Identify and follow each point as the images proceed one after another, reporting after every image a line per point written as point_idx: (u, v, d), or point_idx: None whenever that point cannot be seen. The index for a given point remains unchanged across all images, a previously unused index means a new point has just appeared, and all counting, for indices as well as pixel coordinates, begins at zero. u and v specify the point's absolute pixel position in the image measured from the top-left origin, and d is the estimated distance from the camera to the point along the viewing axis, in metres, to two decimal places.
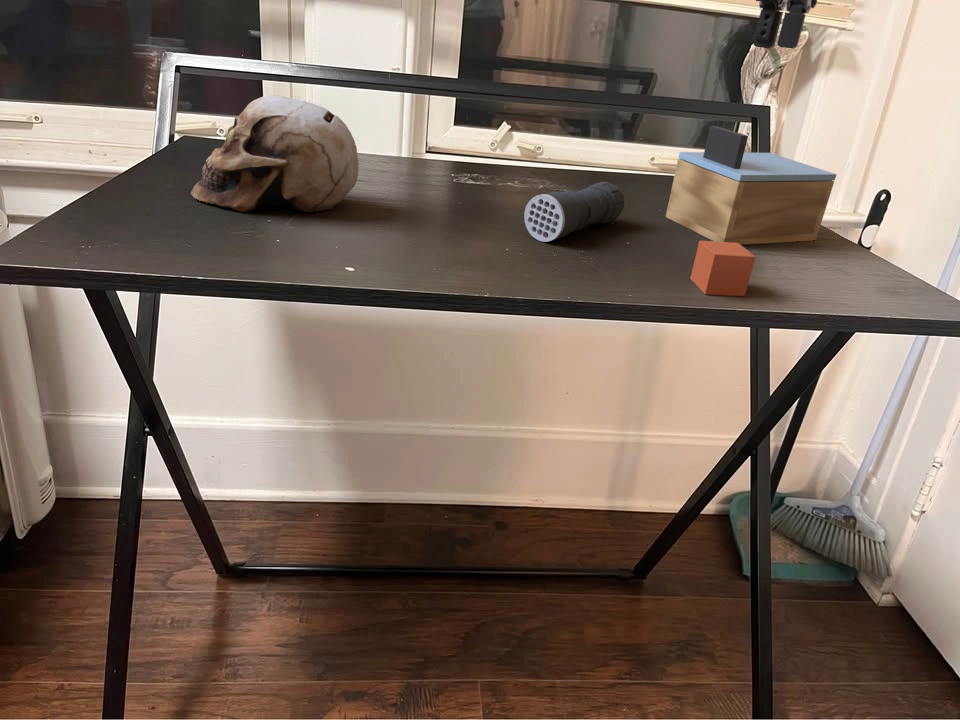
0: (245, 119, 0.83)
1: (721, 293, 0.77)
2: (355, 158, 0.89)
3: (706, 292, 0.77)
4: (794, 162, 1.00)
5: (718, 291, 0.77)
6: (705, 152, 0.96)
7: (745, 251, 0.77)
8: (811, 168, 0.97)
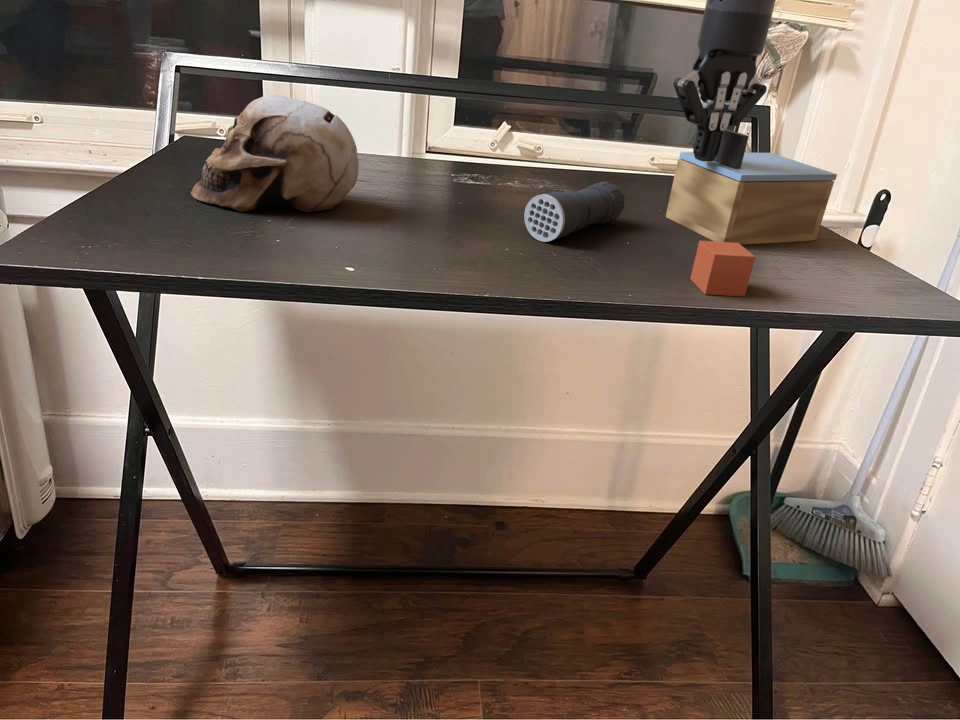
0: (245, 119, 0.83)
1: (721, 293, 0.77)
2: (355, 158, 0.89)
3: (706, 292, 0.77)
4: (795, 162, 1.00)
5: (718, 291, 0.77)
6: None
7: (745, 251, 0.77)
8: (812, 168, 0.98)
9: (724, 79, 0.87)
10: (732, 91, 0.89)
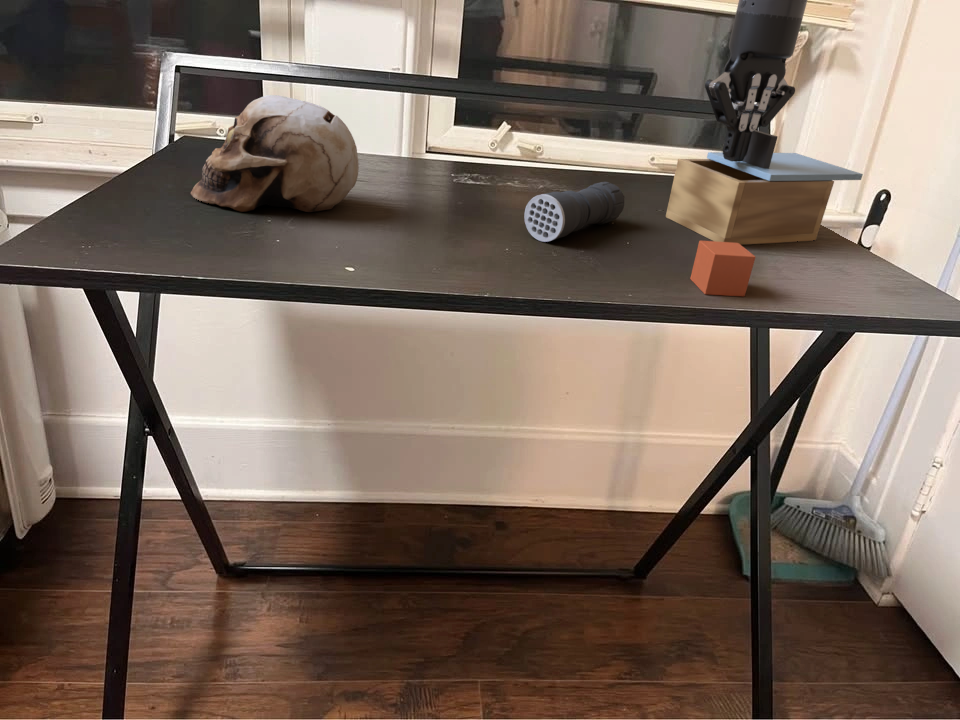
0: (245, 119, 0.83)
1: (721, 293, 0.77)
2: (355, 158, 0.89)
3: (706, 292, 0.77)
4: (820, 162, 1.02)
5: (718, 291, 0.77)
6: None
7: (745, 251, 0.77)
8: (837, 168, 0.99)
9: (755, 81, 0.89)
10: (762, 92, 0.90)
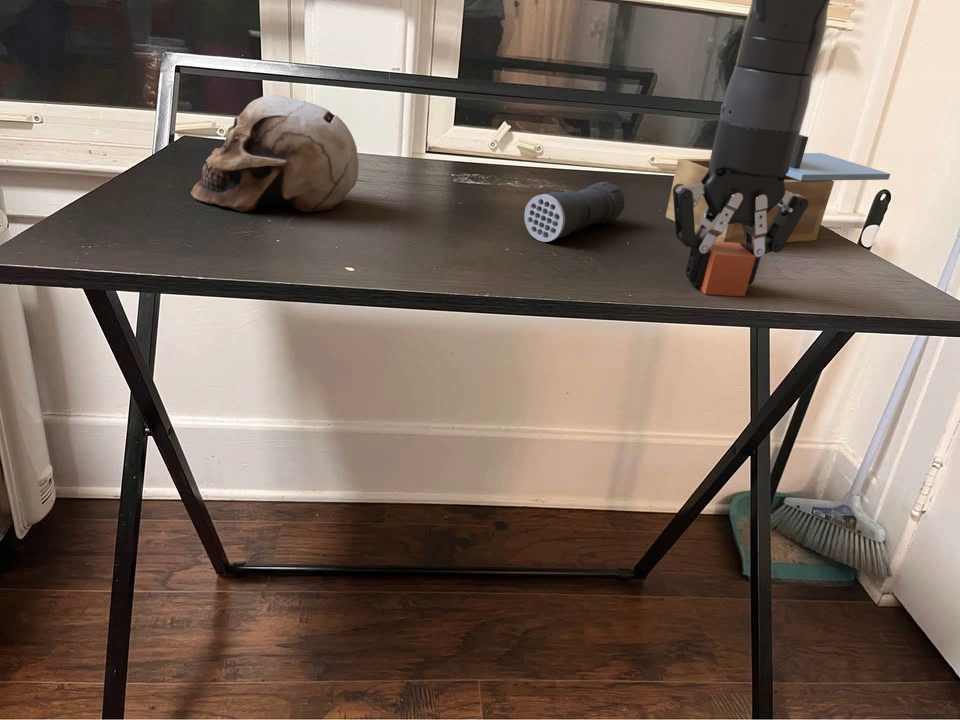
0: (245, 119, 0.83)
1: (721, 293, 0.77)
2: (355, 158, 0.89)
3: (706, 292, 0.77)
4: (847, 162, 1.04)
5: (718, 291, 0.77)
6: None
7: (745, 251, 0.77)
8: (865, 168, 1.02)
9: (734, 201, 0.73)
10: (753, 216, 0.74)
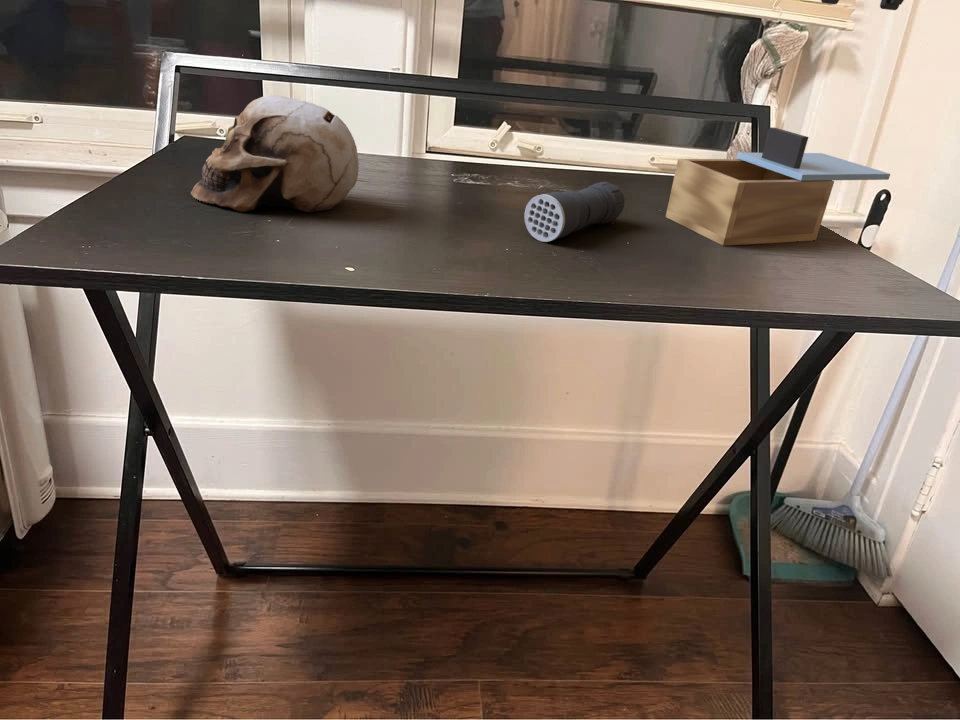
0: (245, 119, 0.83)
1: None
2: (355, 158, 0.89)
3: None
4: (847, 162, 1.04)
5: None
6: (764, 152, 1.00)
7: None
8: (865, 168, 1.02)
9: None
10: None
